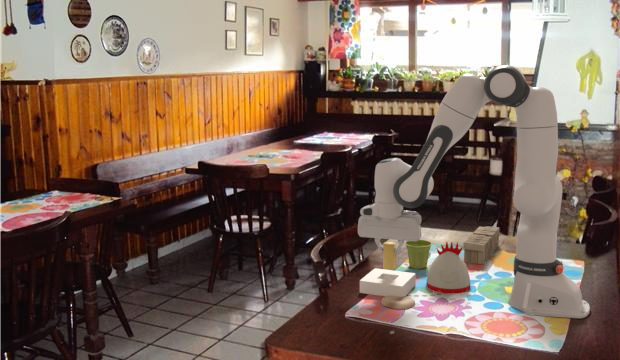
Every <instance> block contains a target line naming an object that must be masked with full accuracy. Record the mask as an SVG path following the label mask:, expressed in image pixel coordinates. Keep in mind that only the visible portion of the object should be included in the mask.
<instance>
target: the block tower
mask: <svg viewBox="0 0 620 360" xmlns="http://www.w3.org/2000/svg"><path fill="white" fill-rule="evenodd" d="M499 240H500V227H499V226H498V227H497V226H478V228H476V229H475V230H474V231H473V233H472V234H471V235H470V236H468V238H467V239H466V240H464V241H463V245H462V246H463V248H462V250H463V261H464V263H468V264H470V263H471V264H475V265H476V264H481V265H485V264H487V262H488V260H489V258H491V256H492V254H493V253H494V252H495V251H496V249H497V248H498V247H499V246H500V245H499V244H500V241H499Z"/></svg>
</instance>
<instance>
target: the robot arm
mask: <svg viewBox="0 0 620 360" xmlns="http://www.w3.org/2000/svg"><path fill="white" fill-rule="evenodd" d="M490 102H493V103H495V104H497V105H502V106H506V107H511V108H513V109H514V111H515V114H516V115H515V116H516V118H515V119H516V147H517V148H516V151H517V152H516V153H517V155H516V157H517V158H516V165H515V174H514V190H513V196H512V197H513V198H512V199H513V200H512V201H513V205H514V207H515V209H516V210H517V211H518V212H519V213H520V216H519V222H518V226H517V230H516V247H515V249H516V251H515V252H516V253H515V256H514V259H513V270H512V271H513V272H512V273H513V276H514V277H513V283H512V288H511V292H510V294H509V295H510V296H509V298H508V299H507V300H508V304H509V305H510V306H512V307H513V308H515V309H518V310H520V311H522V312H523V313H525V314H526V315H528V316H529V315H532V316H543V317H545V316H546V317H555V318H556V317H557V318H568V319H584V318H586V317H588V316H589V314H590V313H591V306H590V304H589V303H588V301H586V300H584V299H583V295H582V291H581V288H580V286H579V285H578V283H576V282H575V281H573V280H572V279H571V278H569V276H567V275H566V274H565V273H563V272H564V264H563V260H558V259H557V239H558V230H559V222H560V216H561V209H562V208H561V207H562V201H563V200H562V198H563V184H562V182H561V180H560V178H559V177H558V176H557V165H558V164H557V163H558V156H559V127H558V125H559V124H558V114H557V113H558V112H557V106H556V101H555V96H554V93H553V92H552V91H551V90H549V89H548V88H545V87H540V86H531V85H529V84H528V83H527V80H526V77H525V74H523V72H522V71H521V69H520V68H518V67H516V66H514V65H510V64H504V65H500V66H496V67H494V68H492V69H491V70H490V71H489V72H488V74H486V76H484V77H483V76H482V77H481V76H478V75H476V74H473V73H464V74H461V75H459V77H458V78H457V79H456V80H455V81H454V82H453V83H452V85H451V86H450V88H449V89H448V90H447V92H446V94H445V95H444V97H443V99H442V101H441V103H440V104H439V107H438V108H437V110H436V113H435V115H434V118H433V120H432V123H431V127H430V130H429V132H428V135H427V138H426V141H425V143H424V145H423V146H422V148H421V150H420V152H419V154H418V155H417V157H416V158H415V160H414V162H413V163H412V165H410V164H408V163H406V162H404V161H403V160H402V159H401V158H399V157H389V158H386V159H383V160H380V161H379V162H378V163H377V164H376V165H375V168H374V169H375V170H374V190H375V197H374V203H371V204H368V205H365V206H363V207H362V208H360V210H359V213H360V216H359V217H358V220H357V221H358V224H357V234H358V236H359V237H360V238H370V239H372V238H373V239H374V242H375V244H376V246H377V249H378V250H377V251H378V252H379V253H383V243H382V242H381V240H382V239H383V240H395V241H396V240H397V244H398V246H396V248H395V253H396V255H397V254H398V255H399V254H401V252H402V251H401V250H402V249H401V248H402V246H403V245H404V244H405V242H406V241H418V240H421V238H422V227H421V224H422V215H421V214H420V213H419V212H417V211H414V210H413V211H412V210H404V208H406V209H416V208H418V207H421V206H423V203H424V202H426V200H427V198H428V196H430V195H431V193H432V192H433V190H434V185H435V180H434V178H433V174H434V173H435V170H436V169H437V167H438V166H439V163H440V162H441V160H442V158H443V157H444V155H445V154H446V153H448V150H450V148H452V147H453V146H454V145H455V144H456V143H457V142H458V141H460V140H462V138H463V137H464V136H465V134H467V132H468V131H469V129H470V128H471V127H472V125H473V123H475V122H474V121H475V120H476V119H477V116H479V113H480V111H481V110H482V108H483V107H484V106H485V105H486V104H487V103H490Z"/></svg>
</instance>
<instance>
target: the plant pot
mask: <svg viewBox="0 0 620 360" xmlns="http://www.w3.org/2000/svg"><path fill="white" fill-rule="evenodd" d="M404 245H405V246H406V249H407V250H406V251H407V256H408V258H407V259H408V264H409V265H408V266H409V267H410V268H413V269H417V270H418V269H419V270H421V269H424V268H427V267H428V261H429V260H428V259H429V255H430V254H429V253H430V250H431V247H432V245H433V242H432V241H429V240H425V239H419V240H418V241H404Z"/></svg>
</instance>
